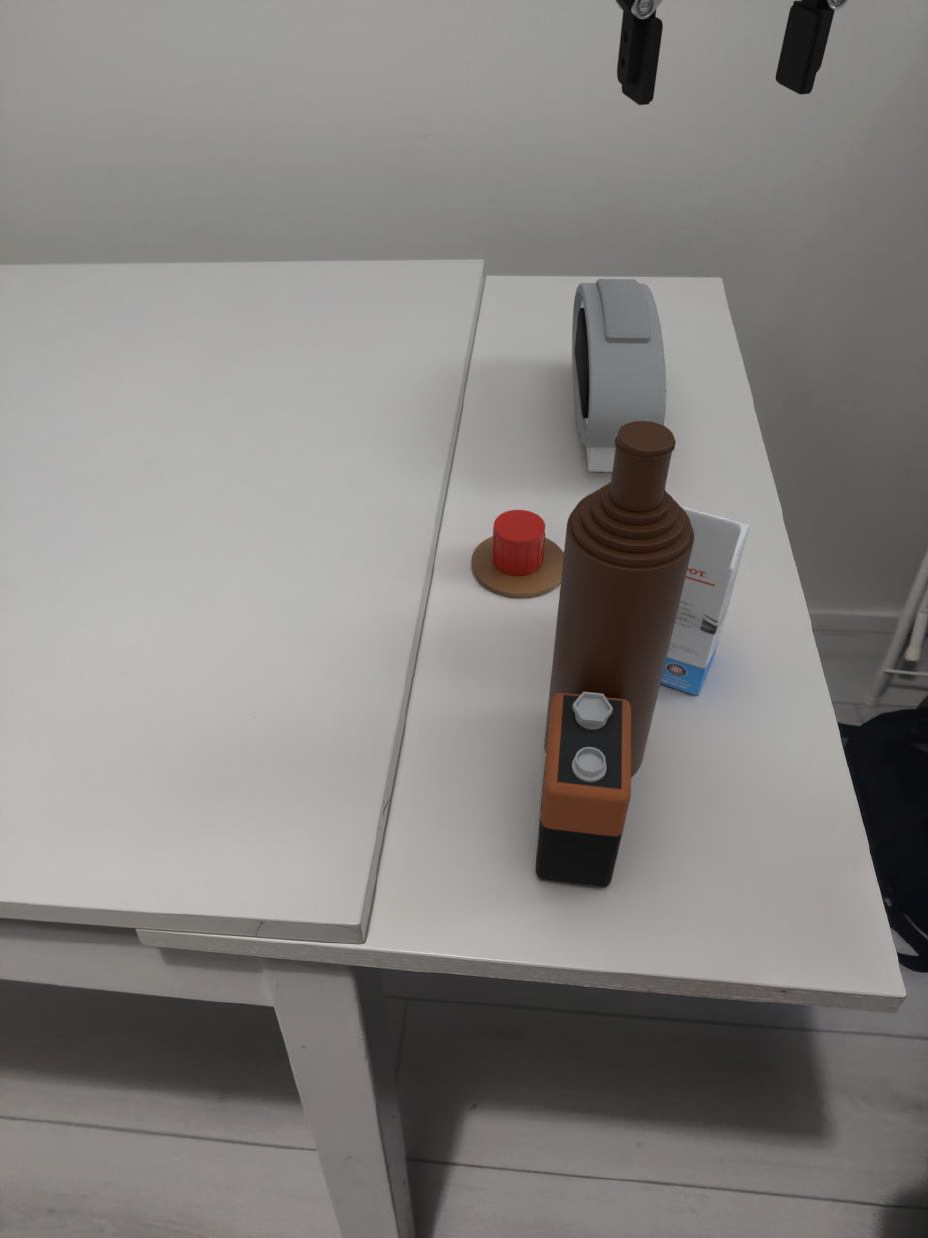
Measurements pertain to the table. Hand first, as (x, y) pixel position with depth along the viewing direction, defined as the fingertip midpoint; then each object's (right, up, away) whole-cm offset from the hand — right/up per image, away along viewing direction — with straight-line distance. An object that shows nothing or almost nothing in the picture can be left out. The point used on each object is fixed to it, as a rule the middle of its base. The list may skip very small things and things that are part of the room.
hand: (715, 93), depth 50 cm
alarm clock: (-1, -11, +35) cm, 37 cm away
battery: (-8, -43, +2) cm, 44 cm away
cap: (-10, -25, +19) cm, 34 cm away
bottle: (-6, -38, +7) cm, 40 cm away
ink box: (-1, -33, +13) cm, 35 cm away
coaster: (-10, -26, +20) cm, 34 cm away
